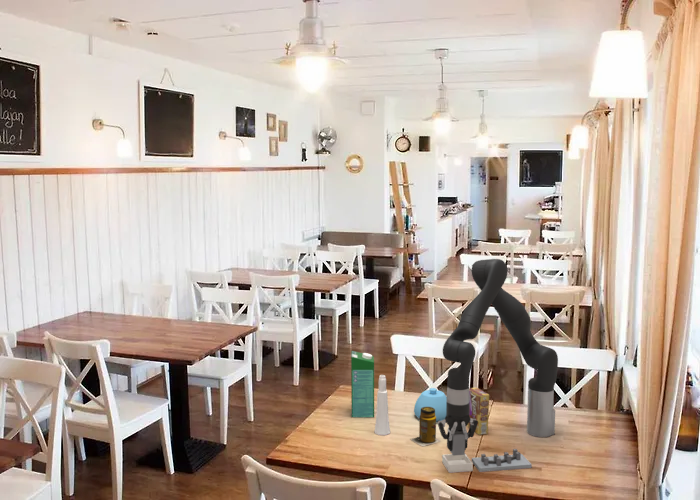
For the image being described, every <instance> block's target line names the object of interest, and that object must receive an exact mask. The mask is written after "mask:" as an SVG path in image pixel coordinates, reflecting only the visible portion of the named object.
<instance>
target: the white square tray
mask: <svg viewBox="0 0 700 500" xmlns="http://www.w3.org/2000/svg"><path fill="white" fill-rule="evenodd" d="M441 459H442V461H441V462H442V465H444V467H445V469H446V470H447V472H448V473H449V474H450V473H452V474H453V473H462V472H464V473H465V472H473V469H474V466H473V465H474V464H473V463H472V459H470V457H469V456H468V455H467V453H465V455H454V456H453V455H452V453H450V454H449V453H447V454H442V455H441Z"/></svg>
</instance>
